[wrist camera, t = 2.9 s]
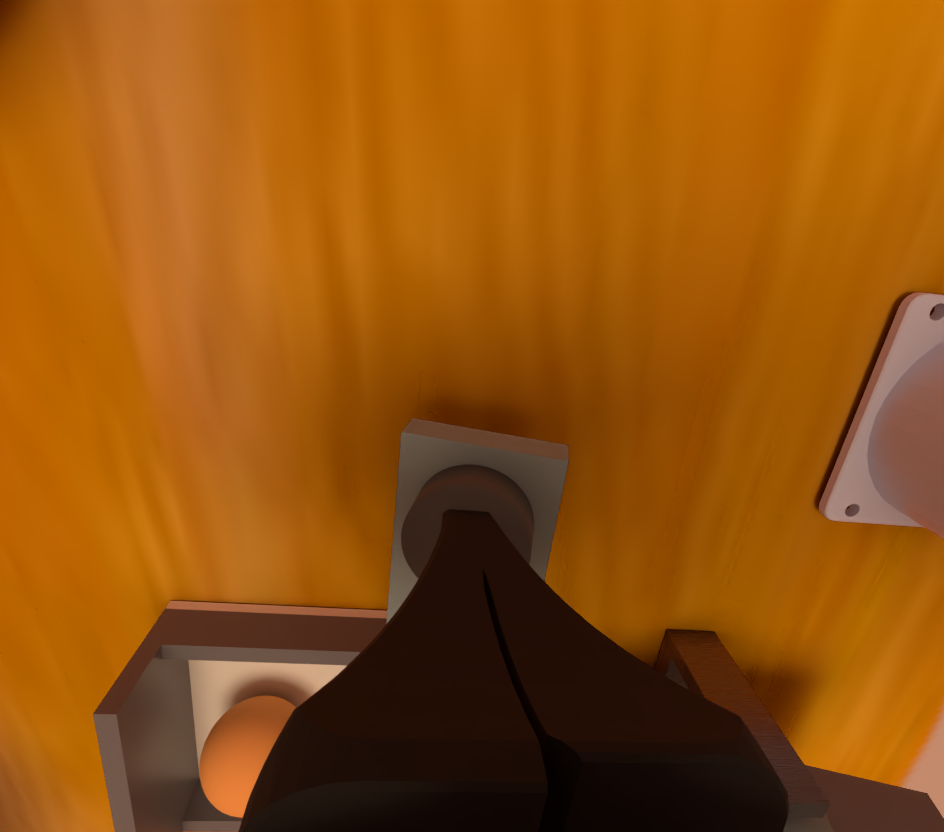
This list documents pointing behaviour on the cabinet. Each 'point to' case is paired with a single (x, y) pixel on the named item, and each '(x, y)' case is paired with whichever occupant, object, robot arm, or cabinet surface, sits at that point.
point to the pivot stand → (739, 709)
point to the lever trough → (531, 532)
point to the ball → (240, 750)
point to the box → (209, 698)
